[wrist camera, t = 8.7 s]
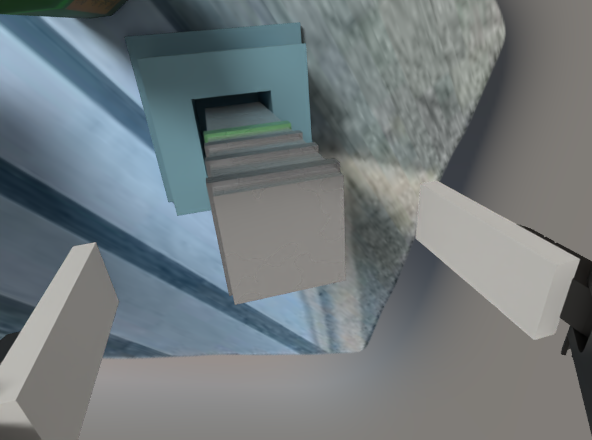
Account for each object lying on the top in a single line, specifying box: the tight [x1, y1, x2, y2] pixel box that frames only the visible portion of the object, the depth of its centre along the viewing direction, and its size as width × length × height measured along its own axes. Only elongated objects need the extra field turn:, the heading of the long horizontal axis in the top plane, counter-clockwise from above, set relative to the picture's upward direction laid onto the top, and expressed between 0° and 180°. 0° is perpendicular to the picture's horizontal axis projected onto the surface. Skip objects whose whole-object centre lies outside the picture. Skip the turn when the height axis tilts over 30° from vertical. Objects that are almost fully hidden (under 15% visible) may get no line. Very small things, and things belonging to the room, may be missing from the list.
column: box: [203, 102, 346, 305], centre depth 24 cm, size 5×5×22 cm
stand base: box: [125, 22, 312, 216], centre depth 32 cm, size 18×18×21 cm
